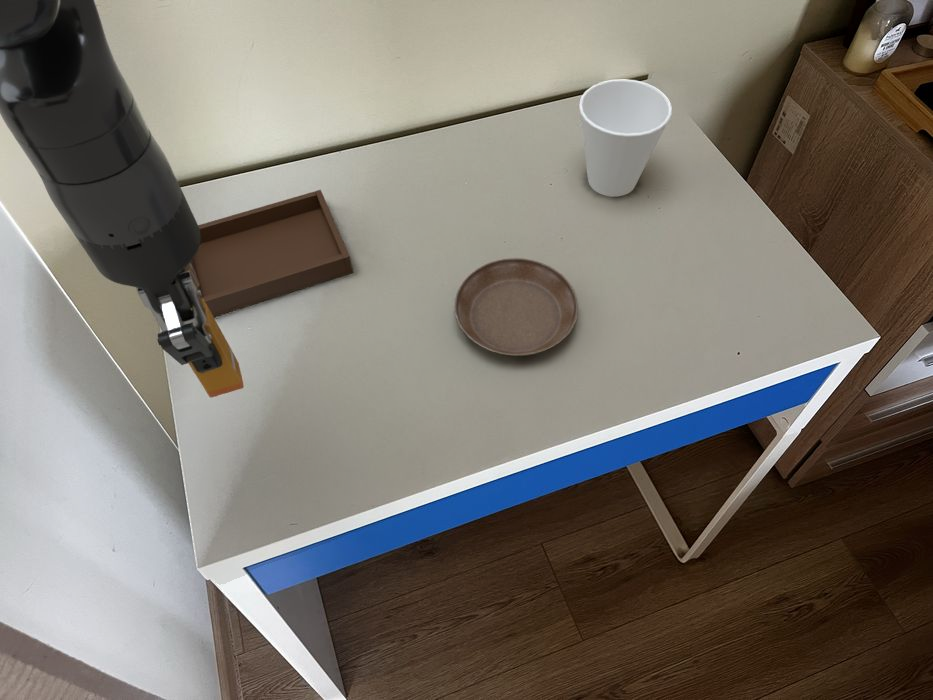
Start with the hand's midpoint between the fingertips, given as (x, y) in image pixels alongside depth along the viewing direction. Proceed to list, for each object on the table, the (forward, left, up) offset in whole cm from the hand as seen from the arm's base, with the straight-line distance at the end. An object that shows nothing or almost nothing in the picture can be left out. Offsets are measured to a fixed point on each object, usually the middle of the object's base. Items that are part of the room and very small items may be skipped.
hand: (206, 348), depth 61 cm
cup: (+56, +23, -19) cm, 63 cm away
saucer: (+33, +6, -19) cm, 38 cm away
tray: (+7, +28, -19) cm, 34 cm away
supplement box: (0, 0, -5) cm, 5 cm away
